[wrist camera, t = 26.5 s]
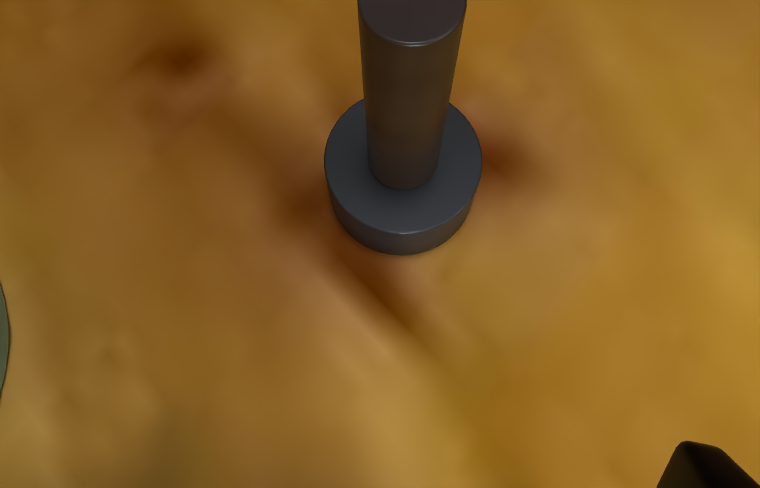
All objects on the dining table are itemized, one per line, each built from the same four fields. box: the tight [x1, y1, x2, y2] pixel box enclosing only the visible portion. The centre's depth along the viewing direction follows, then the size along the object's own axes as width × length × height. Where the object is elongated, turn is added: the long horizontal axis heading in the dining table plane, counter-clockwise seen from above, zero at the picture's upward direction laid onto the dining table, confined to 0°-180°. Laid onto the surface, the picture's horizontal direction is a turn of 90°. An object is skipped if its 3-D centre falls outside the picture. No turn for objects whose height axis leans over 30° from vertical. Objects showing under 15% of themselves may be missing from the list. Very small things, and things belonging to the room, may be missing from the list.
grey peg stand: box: [324, 0, 482, 255], centre depth 17 cm, size 5×5×10 cm
